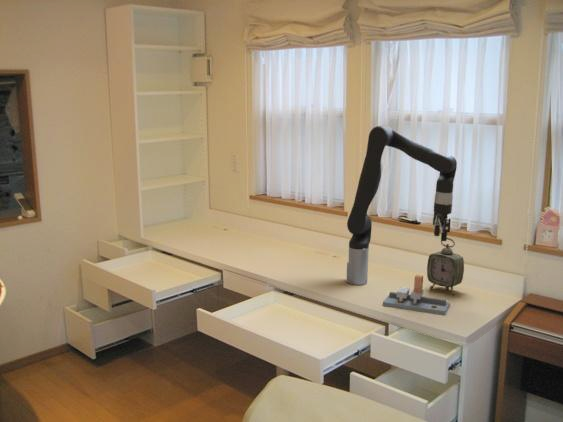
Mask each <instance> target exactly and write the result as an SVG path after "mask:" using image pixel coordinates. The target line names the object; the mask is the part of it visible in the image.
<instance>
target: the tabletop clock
mask: <svg viewBox="0 0 563 422" xmlns="http://www.w3.org/2000/svg"><path fill="white" fill-rule="evenodd" d="M447 240H448V241H451V242H452V243H453V245H450V244H449V243H447V244H445V243H443V241H441V240H440V244H441V245H442V246H443V247H444V248H442V249H441V250H440V251H436V252H434V253H431V254H429V256H428V259H427V266H426V271H427V272H426V275H427V276H426V277H427V280H428V281H429V282H430V283H431V284H432V285H430V286H429V289H430V290H433V289H434V286H435V285H436V286H439V287H443V288H445V291H449V289H451V291H450V295H451V296H454V295H455V291H454V287H455V286H458V285H460V284H461V283H463V282H462V281H463V279H464V272H465V262H464V261H465V260H464V257H463V256H461V255H460V254H458V253H454V252H453V249H452V248H453V247H455V245H456V243H455V241H454V239H452V238H449V237H447Z"/></svg>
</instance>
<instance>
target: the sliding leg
mask: <svg viewBox="0 0 563 422" xmlns="http://www.w3.org/2000/svg"><path fill="white" fill-rule="evenodd" d="M423 286H424V275H421V274H416V275H414V286H413V289H412V291H411V292H410V295H411V298H412V299H414V300H413V304H416V303H417V299H419V300H420V299H421V297H422V296H423V297H424V288H423Z"/></svg>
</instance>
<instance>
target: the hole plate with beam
mask: <svg viewBox="0 0 563 422" xmlns="http://www.w3.org/2000/svg"><path fill="white" fill-rule="evenodd" d="M410 290H411V289H410V287H404V286H403V287H402V286H400V287H399V288H398V289H397V291H396V292H395V291H390V292H389V294H388V295H387V296H386V297H385V299H383V301H382V306H384V307H392V308H399V309H404V310H411V311H418V312H423V313H430V314H439V315H444V316H446V314H447V312H448V309H449V308H450V304H451V303H450V301H447V299H444V298H443V299H442V298H437V297H431V296H424V295H423V296H422V297H421V299H420V300H419V299H417V303H416V304H413V300H414V299H412V298H411V294H410Z"/></svg>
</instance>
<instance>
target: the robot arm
mask: <svg viewBox="0 0 563 422" xmlns="http://www.w3.org/2000/svg"><path fill="white" fill-rule="evenodd" d="M367 140H368V141H367V145H366V152H365V153H366V154H365V157H364V161H363V165H362V168H361V172H360V176H359V179H358V185H357V189H356V193H355V196H354V202H353V205H352V208H351V211H350V212H349V213H350V214H349V215H348V219H347V223H346V226H347V227H346V228H347V230H348V231H349V233H350V234H352V236H351V237H350V240H349V241H348V261H347V263H346V283H347V284H351V285H355V286H361V285H362V286H363V285H367V284H368V277H369V276H368V274H369V272H368V271H369V248H370V242H371V237H372V227H373V226H372V219H371V216H370V215H369V214H368V210H369V207H370V205H371V204H372V202H373V200H374V198H375V196H376V194H377V193H378V189H379V187H380V182H381V178H382V157H383V154H384V150H385V147H386V146H387V147H391V148H394V149H397V150H399V151H401V152H402V153H404V154H405V155H407V156H408V157H410V158H412V159H414V160H415V161H418V162H419V163H422V164H425V165H428V166H429V167H430V168H432V169H433V170H435V171H437V172H439V176H438V178H437V180H436V184H435V185H436V186H435V194H434V201H433V217H432V226H433V227H434V233H433V235H434V237H439V236H441V237H440V242H441V241H442V242H447V240H448V239H447V238H448V233H450V232H451V218H449V217H448V215H451V214H452V210H453V208H452V207H453V198H454V197H453V194H454V193H453V191H454V182H455V181H454V180H455V177H456V171H457V169H458V167H457V164H458V162H457V160H456V158H455V157H454V156H452V155H449V154H447V155H443V154H440V153H438V152H436V150H434V149H433V148H431V147H428V146H427V145H424V144H423V143H419V142H417V141H414V140H413V139H410V138H408V137H406V136H404V135H402V134H400V133H399V132H397V131H396V130H395V129H393V128H391V127H389V126H387V125H385V124H384V125H378V126H374V127H373V128H372V129H371V130H370V132H369V134H368V138H367ZM440 232H441V233H440ZM440 234H441V235H440Z"/></svg>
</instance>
